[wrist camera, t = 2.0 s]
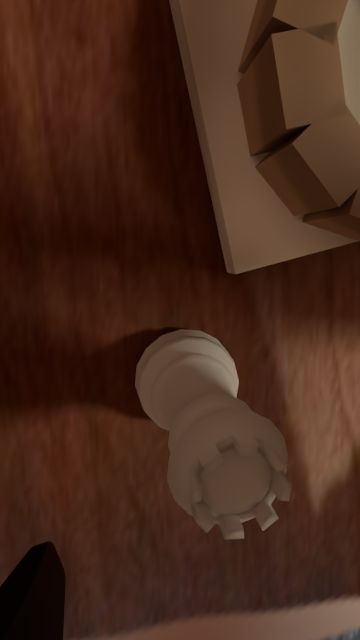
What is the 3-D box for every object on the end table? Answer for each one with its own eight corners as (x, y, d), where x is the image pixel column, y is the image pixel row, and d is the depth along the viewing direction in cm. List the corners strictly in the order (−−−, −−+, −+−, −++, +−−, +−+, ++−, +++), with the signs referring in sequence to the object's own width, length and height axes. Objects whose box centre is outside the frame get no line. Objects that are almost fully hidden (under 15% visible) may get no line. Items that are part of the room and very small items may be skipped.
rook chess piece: (115, 357, 15) (108, 469, 7) (204, 308, 15) (288, 368, 8) (163, 435, 16) (200, 605, 8) (245, 389, 16) (354, 512, 9)
